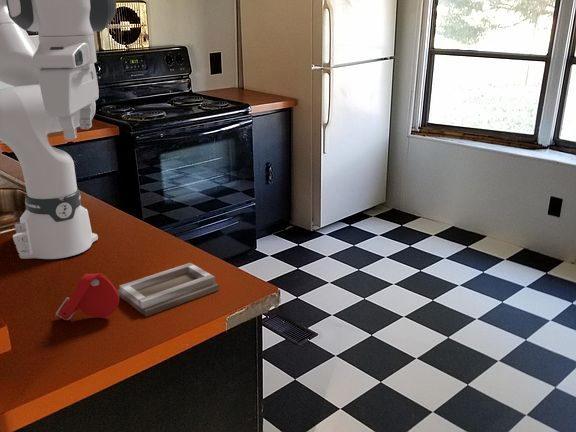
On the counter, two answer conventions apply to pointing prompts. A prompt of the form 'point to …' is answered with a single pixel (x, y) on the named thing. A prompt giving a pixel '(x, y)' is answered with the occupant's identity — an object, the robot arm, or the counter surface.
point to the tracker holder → (91, 298)
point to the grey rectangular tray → (168, 289)
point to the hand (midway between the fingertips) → (79, 133)
